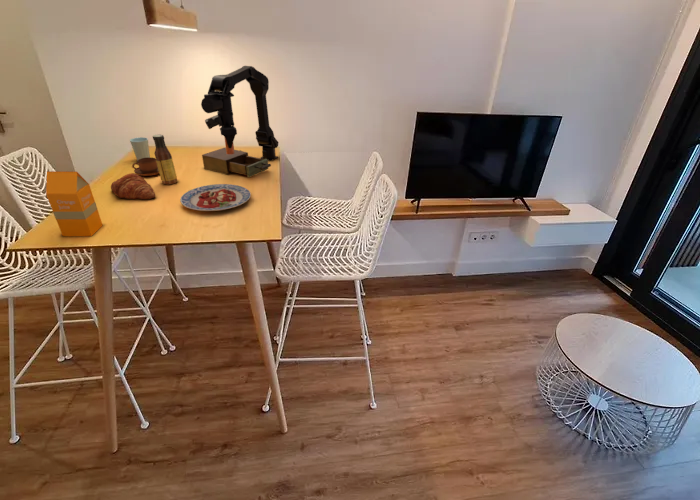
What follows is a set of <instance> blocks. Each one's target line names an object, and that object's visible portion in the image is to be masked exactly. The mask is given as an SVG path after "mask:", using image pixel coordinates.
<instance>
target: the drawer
mask: <svg viewBox="0 0 700 500" xmlns="http://www.w3.org/2000/svg"><path fill="white" fill-rule="evenodd" d="M227 163H228V170H229V171H231V172H233V173H236V174H240V175H245V176H247V178H251V177H253V176H255V175H256V176H257V175H258V174H261V173H263V172H265V171H268V170H269V168H270V167H272V164H271V163H269V160H268V159H261V157H255V156H251V155H248V156H246V155H244V156H241V157H239V158H236V159H233V160H230V161H228V162H227Z"/></svg>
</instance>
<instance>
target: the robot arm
mask: <svg viewBox="0 0 700 500" xmlns="http://www.w3.org/2000/svg"><path fill="white" fill-rule="evenodd" d="M243 81H246V82H247V83H248V84H249V89H250V91H251V92H252V93H253V95H254V99H255V106H256V115H257V122H258V128H257V130H255V132H254V133H255V140H256V141H257V144H258V147H261V148H262V149H261V153H262V157H261V156H260V159H263V160H264V159H268V162H270V161H274V160H276V159H278V158H279V156H277V155H276V149H277V148H278V147H279V143H280V142H279V141H278V139H277V138H276V137H275V133H274V130H273V129H272V127H271V125H270V120H269V110H268V101H267V93H268V91H269V83H270V81H269V78H268V76H266V75H265V74H264V73H263V72H261V71H259V70H257V69H256V68H255V67H254V66H252V65H243V66H242V67H240V68H237V69H236V70H233V71H231V72H230V73H227V74H217V75H213V76H212V78H211V81H210V85H209V88H208V91H207V94H204V95H203V98H202V99H201V103H200V106H201V110H203V112H204V113H206V114H213V113H217V114H216V115H213V116H211V117H208V118H206V119H204V123H205V124H206V127H207V129H208V130H211V129H213V128H215V127H217V126H218V127H219V130H220V135H221V136H223V137H224V136H225V138H226V141H227V144H228V147H229V148H231V147H232V144H234V142H235V138H236V135H238V130H237V128H236V126H235V122H234V111H233V106H232V105H233V104H232V98H233V97H235V95H234V93H233V92H231V91H233V90H234V89H235V87H236V85H237V84H239V83H241V82H243ZM225 138H224V139H225Z"/></svg>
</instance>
